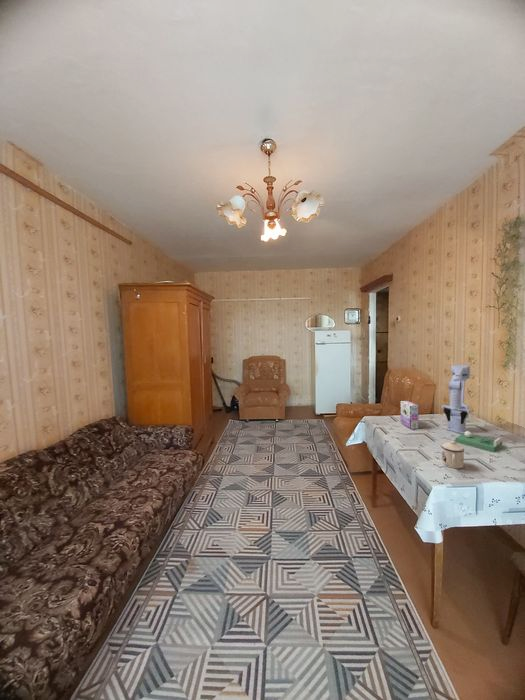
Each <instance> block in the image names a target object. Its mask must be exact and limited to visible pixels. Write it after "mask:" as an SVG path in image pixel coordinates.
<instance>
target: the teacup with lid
mask: <svg viewBox="0 0 525 700" xmlns="http://www.w3.org/2000/svg"><path fill="white" fill-rule="evenodd" d="M441 448H442V449H441V450H442V451H441V452H442V453H441V455H442V459H441V461H442V464H443V466H446V467H448V468H452V469H462V468H464V460H465V459H464V457H465V456H464V455H465V454H464V451H465V449H464V446H462V445H460V444H459V443H457V442H455V440H450V441H449V442H445V443H442V445H441Z"/></svg>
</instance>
